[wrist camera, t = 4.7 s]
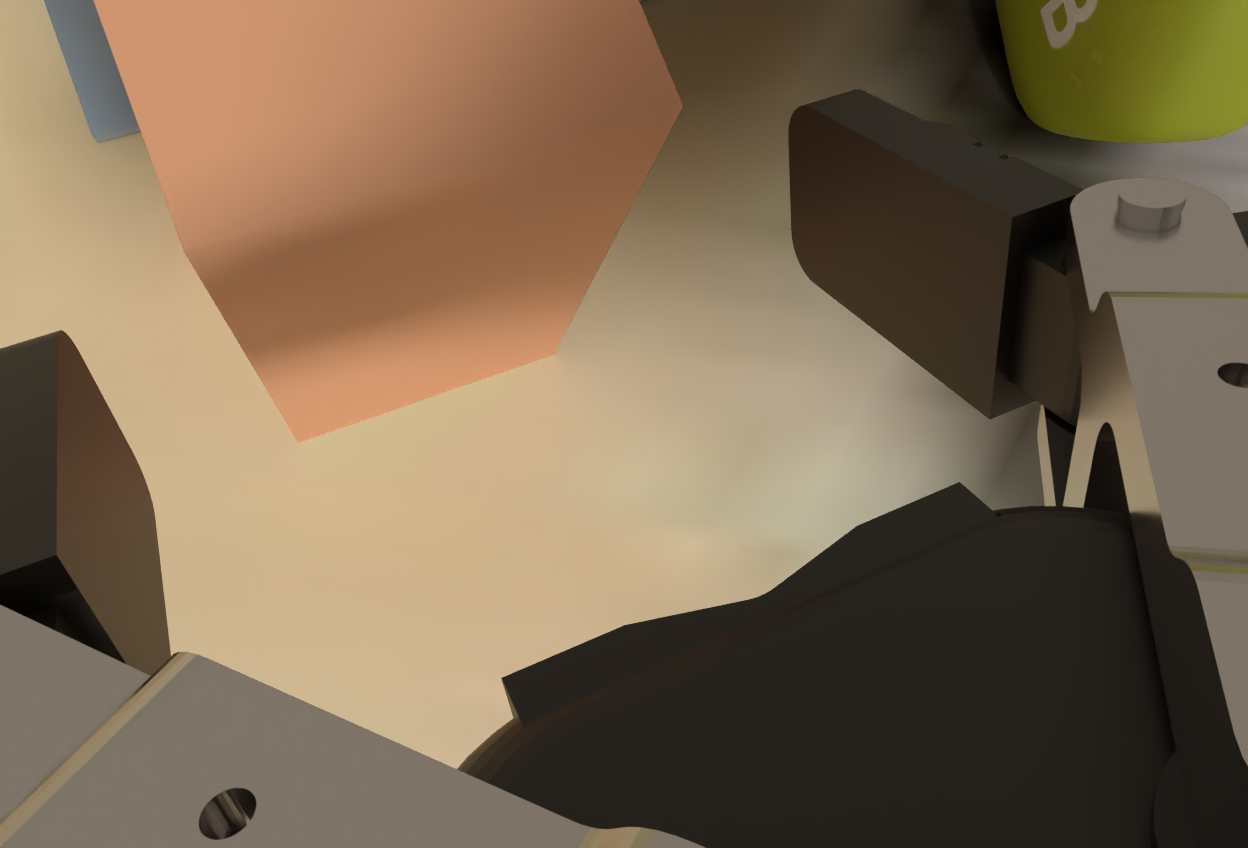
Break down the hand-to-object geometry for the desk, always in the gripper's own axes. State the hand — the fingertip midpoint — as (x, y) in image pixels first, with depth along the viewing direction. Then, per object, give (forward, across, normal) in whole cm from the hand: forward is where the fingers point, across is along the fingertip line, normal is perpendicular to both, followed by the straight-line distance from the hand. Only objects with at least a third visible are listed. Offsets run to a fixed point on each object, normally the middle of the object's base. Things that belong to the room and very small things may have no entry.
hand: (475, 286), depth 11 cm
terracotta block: (+8, 0, +4) cm, 9 cm away
